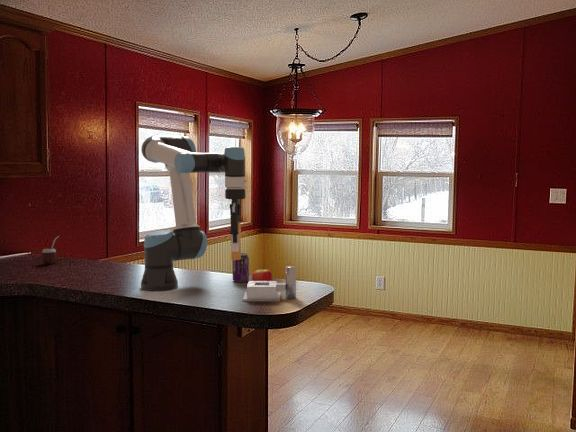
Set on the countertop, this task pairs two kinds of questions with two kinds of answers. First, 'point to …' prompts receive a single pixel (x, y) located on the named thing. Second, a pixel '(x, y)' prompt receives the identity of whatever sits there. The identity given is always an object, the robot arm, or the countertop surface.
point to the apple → (262, 275)
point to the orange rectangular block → (238, 254)
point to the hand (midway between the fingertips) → (236, 250)
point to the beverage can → (241, 269)
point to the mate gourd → (49, 255)
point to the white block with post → (272, 288)
